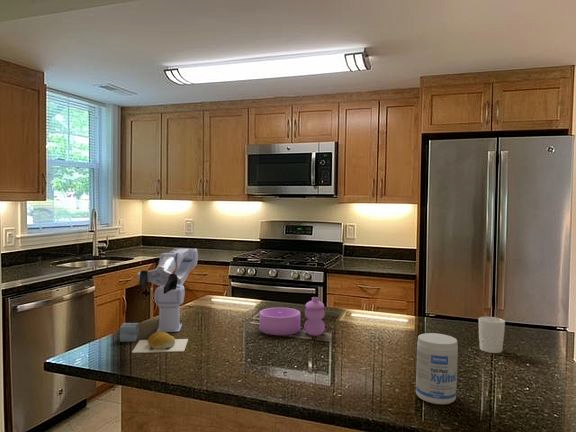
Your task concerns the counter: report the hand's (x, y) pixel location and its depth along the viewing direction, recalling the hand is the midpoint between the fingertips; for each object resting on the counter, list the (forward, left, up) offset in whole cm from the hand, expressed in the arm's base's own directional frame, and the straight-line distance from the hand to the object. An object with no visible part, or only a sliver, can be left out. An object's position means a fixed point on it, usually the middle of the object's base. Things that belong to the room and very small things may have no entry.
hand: (152, 289), depth 143 cm
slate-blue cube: (-10, -10, -19) cm, 24 cm away
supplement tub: (+43, +75, -19) cm, 89 cm away
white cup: (+11, +109, -19) cm, 112 cm away
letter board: (-2, +2, -19) cm, 19 cm away
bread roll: (-2, +2, -19) cm, 19 cm away
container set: (-16, +47, -19) cm, 54 cm away
